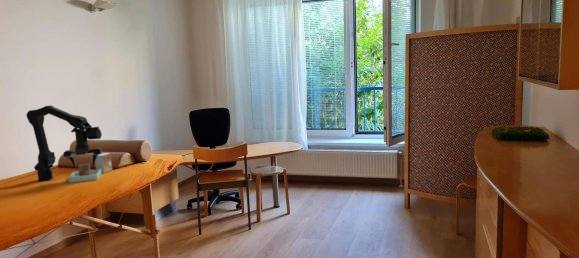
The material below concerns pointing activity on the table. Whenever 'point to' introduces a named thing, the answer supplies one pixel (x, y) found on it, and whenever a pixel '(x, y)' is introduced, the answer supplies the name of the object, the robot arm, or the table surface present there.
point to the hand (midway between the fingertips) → (84, 167)
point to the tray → (76, 178)
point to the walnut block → (84, 169)
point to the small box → (104, 162)
